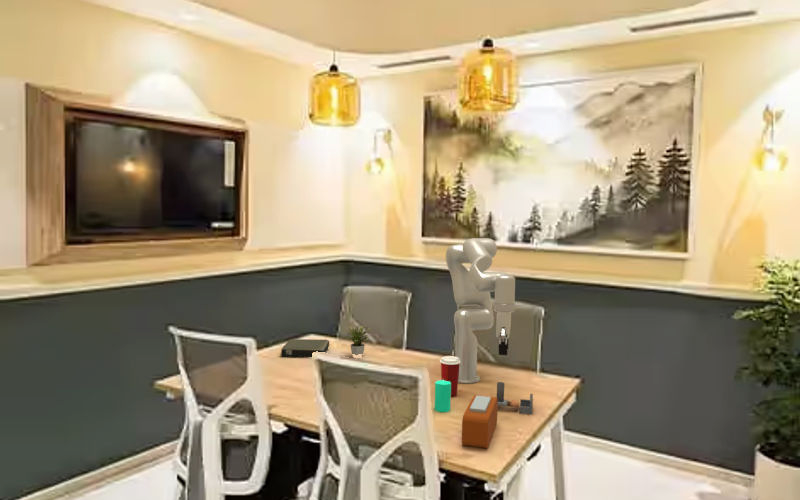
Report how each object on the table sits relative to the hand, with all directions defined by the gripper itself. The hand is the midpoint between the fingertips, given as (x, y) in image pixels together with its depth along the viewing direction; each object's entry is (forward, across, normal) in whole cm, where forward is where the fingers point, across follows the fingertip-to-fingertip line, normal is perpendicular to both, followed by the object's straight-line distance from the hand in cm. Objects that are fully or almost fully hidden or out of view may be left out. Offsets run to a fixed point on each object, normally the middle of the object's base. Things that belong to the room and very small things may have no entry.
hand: (503, 351), depth 230 cm
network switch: (+20, -56, -101) cm, 117 cm away
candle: (+22, +8, -22) cm, 32 cm away
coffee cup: (+21, -10, -22) cm, 32 cm away
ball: (+20, +1, +5) cm, 20 cm away
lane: (+22, +1, -2) cm, 22 cm away
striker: (+22, +1, -1) cm, 22 cm away
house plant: (+20, -53, -73) cm, 92 cm away
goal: (+22, +1, +9) cm, 23 cm away
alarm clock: (+22, +29, -6) cm, 37 cm away
